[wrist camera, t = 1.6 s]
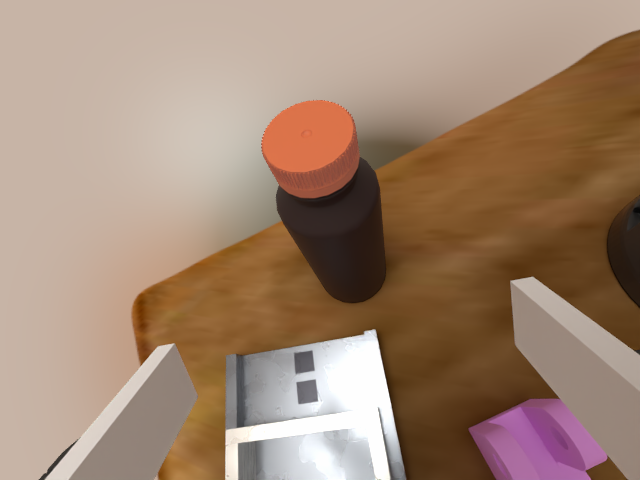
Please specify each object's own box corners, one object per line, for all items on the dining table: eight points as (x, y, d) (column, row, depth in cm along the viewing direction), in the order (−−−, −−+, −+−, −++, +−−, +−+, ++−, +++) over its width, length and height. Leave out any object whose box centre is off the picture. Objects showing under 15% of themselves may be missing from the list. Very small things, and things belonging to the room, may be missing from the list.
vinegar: (361, 317, 32) (319, 214, 14) (308, 281, 34) (217, 156, 17) (398, 262, 33) (402, 109, 16) (345, 232, 36) (297, 73, 18)
